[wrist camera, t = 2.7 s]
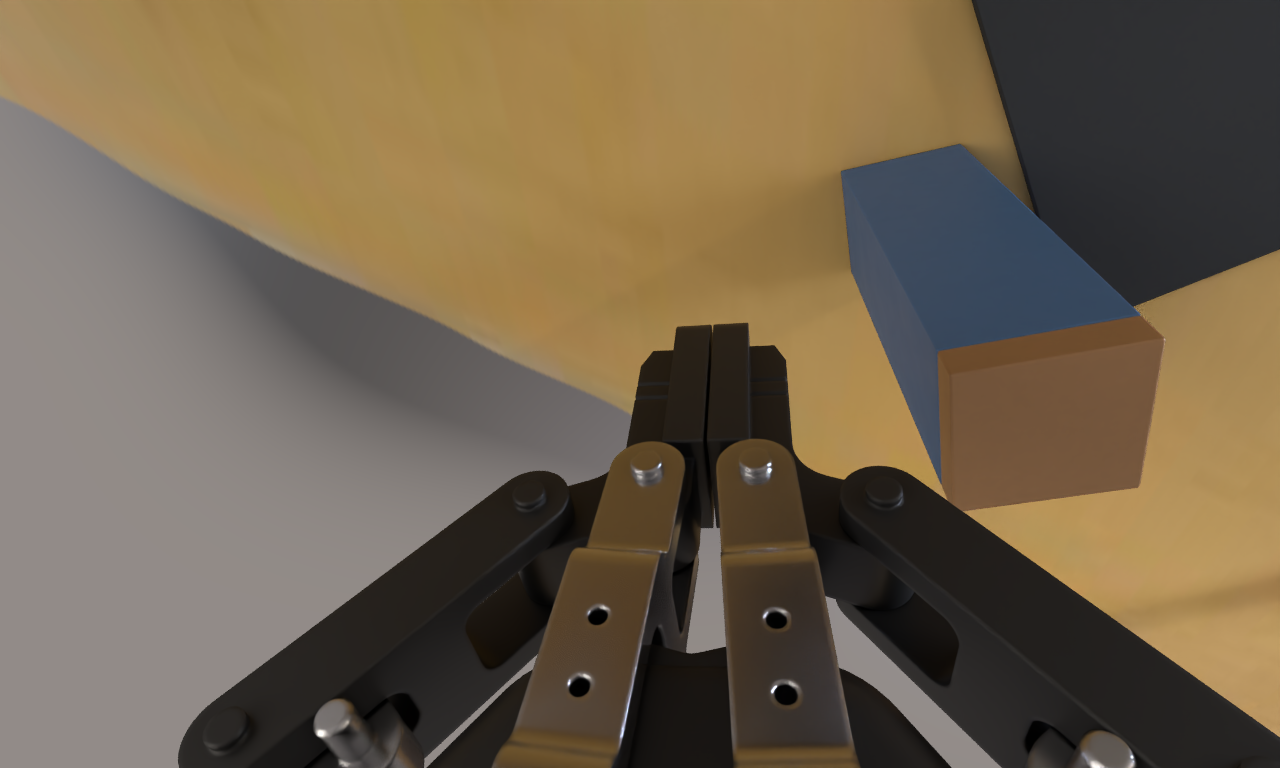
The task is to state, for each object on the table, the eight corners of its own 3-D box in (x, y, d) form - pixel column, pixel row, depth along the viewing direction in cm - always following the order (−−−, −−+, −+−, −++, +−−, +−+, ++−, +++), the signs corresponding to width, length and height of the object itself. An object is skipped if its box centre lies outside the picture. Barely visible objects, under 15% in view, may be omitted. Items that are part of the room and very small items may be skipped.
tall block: (851, 271, 34) (952, 513, 21) (840, 170, 31) (949, 375, 18) (961, 249, 33) (1140, 488, 20) (960, 143, 30) (1167, 338, 17)
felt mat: (965, -17, 27) (970, -16, 27) (1584, -370, 21) (1602, -375, 21) (1068, 325, 35) (1072, 330, 34) (1538, 140, 29) (1550, 143, 28)
